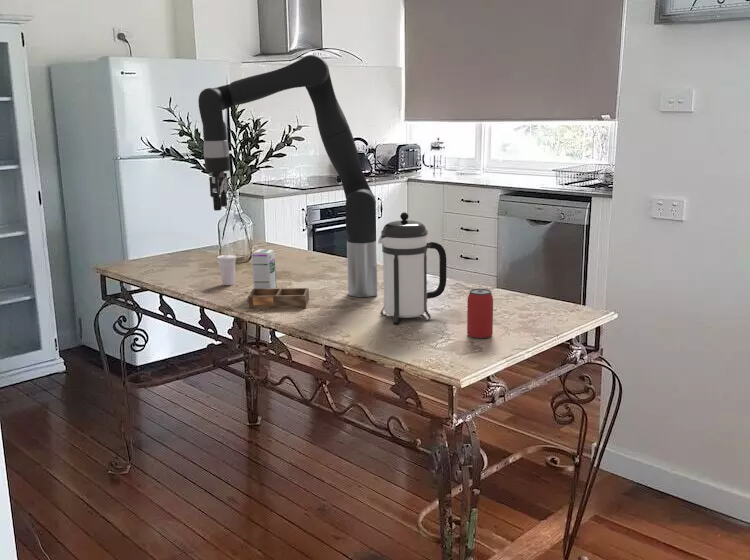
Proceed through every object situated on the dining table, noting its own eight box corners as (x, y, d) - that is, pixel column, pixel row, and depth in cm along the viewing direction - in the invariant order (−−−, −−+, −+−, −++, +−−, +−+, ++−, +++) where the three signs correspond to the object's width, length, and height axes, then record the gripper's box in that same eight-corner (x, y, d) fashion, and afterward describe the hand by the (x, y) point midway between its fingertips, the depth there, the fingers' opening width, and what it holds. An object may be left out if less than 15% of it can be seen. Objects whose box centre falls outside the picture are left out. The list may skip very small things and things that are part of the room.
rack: (309, 299, 235) (308, 287, 235) (305, 308, 226) (305, 295, 225) (254, 300, 236) (253, 288, 235) (248, 308, 227) (247, 296, 226)
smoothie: (217, 287, 254) (214, 245, 250) (220, 282, 260) (217, 242, 257) (236, 286, 254) (233, 245, 250) (239, 282, 260) (236, 241, 257)
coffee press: (421, 328, 205) (420, 218, 197) (369, 321, 212) (367, 214, 205) (447, 312, 219) (447, 209, 212) (397, 306, 227) (396, 206, 220)
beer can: (491, 331, 201) (491, 287, 198) (493, 339, 194) (494, 294, 192) (466, 331, 201) (466, 287, 198) (468, 339, 195) (468, 294, 192)
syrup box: (271, 297, 239) (269, 252, 235) (253, 297, 240) (251, 252, 236) (277, 293, 244) (275, 249, 241) (259, 292, 245) (257, 248, 242)
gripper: (224, 157, 225) (228, 211, 228) (233, 153, 238) (237, 204, 242) (198, 157, 225) (203, 212, 229) (209, 154, 239) (213, 205, 242)
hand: (220, 208), depth 235 cm, fingers open, 8 cm apart
